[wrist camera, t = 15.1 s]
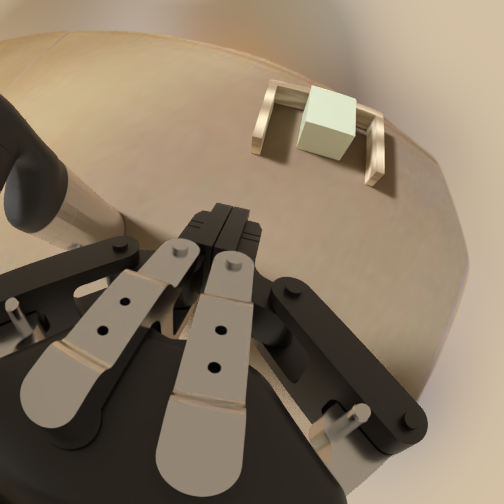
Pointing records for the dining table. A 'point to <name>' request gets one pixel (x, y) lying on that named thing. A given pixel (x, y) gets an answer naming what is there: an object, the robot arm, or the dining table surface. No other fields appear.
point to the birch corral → (298, 99)
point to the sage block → (327, 123)
